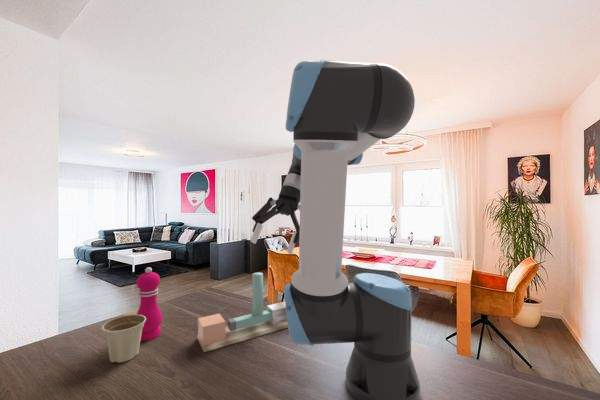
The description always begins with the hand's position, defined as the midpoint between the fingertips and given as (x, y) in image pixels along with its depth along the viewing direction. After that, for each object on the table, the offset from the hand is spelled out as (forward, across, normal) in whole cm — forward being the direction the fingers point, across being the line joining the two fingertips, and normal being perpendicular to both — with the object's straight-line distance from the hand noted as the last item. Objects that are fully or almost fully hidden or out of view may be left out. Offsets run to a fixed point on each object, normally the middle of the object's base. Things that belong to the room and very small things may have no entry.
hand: (270, 247), depth 85 cm
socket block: (+29, +5, +3) cm, 30 cm away
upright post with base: (+21, -3, -7) cm, 23 cm away
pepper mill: (+35, +24, +6) cm, 43 cm away
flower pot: (+39, +20, +14) cm, 46 cm away
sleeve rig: (+25, -1, -6) cm, 25 cm away
